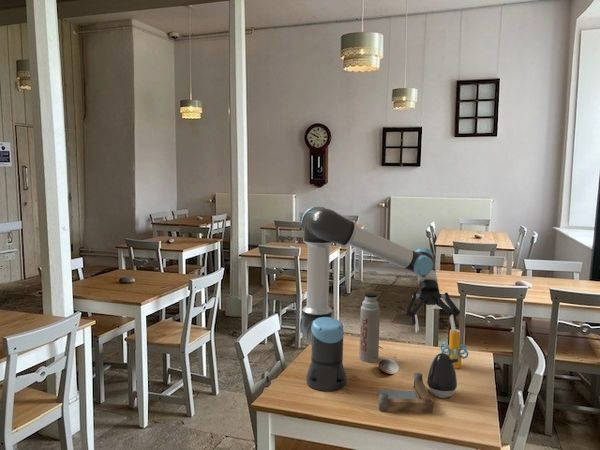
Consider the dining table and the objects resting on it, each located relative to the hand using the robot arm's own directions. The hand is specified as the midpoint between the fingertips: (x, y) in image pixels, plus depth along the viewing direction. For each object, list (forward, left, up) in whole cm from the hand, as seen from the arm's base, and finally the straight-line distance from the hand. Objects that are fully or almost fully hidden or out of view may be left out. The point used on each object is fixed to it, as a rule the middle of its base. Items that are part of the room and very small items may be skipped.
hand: (435, 332), depth 187 cm
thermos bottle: (-23, +21, -19) cm, 36 cm away
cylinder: (+11, +16, -19) cm, 27 cm away
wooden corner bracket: (-15, -15, -19) cm, 29 cm away
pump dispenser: (0, -11, -19) cm, 23 cm away
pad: (-16, -16, -19) cm, 30 cm away
